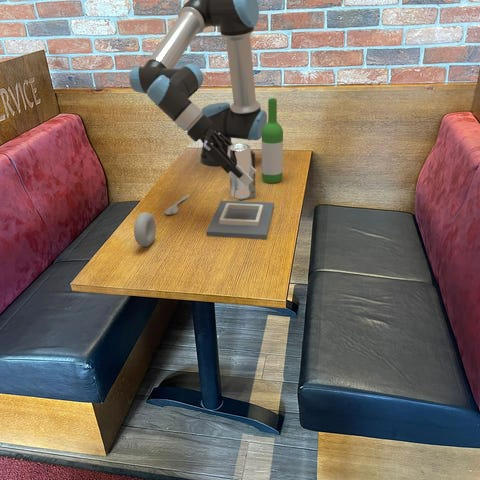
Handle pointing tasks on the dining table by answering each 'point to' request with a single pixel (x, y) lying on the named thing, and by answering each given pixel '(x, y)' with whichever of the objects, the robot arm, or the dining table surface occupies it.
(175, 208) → the spoon
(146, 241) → the donut
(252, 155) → the coffee box
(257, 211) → the grey square plate
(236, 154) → the chrome tumbler
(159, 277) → the dining table surface
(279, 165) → the wine bottle
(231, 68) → the robot arm
